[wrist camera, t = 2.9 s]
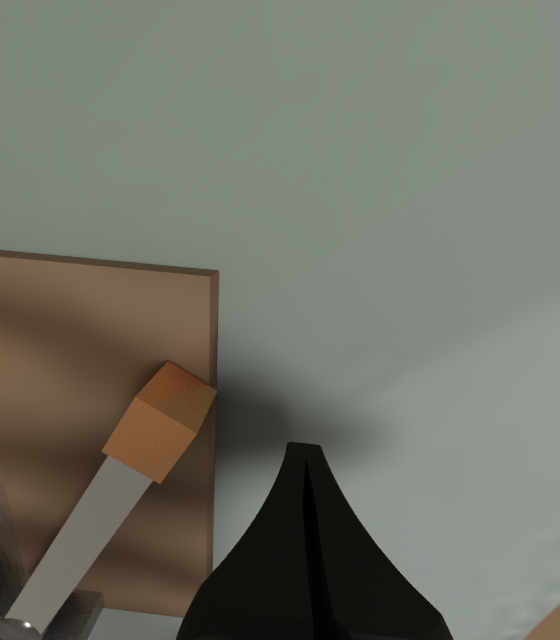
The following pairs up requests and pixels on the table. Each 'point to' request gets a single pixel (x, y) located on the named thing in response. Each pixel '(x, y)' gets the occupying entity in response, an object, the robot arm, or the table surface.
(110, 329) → the board
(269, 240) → the table surface
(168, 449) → the tong arm
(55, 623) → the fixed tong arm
